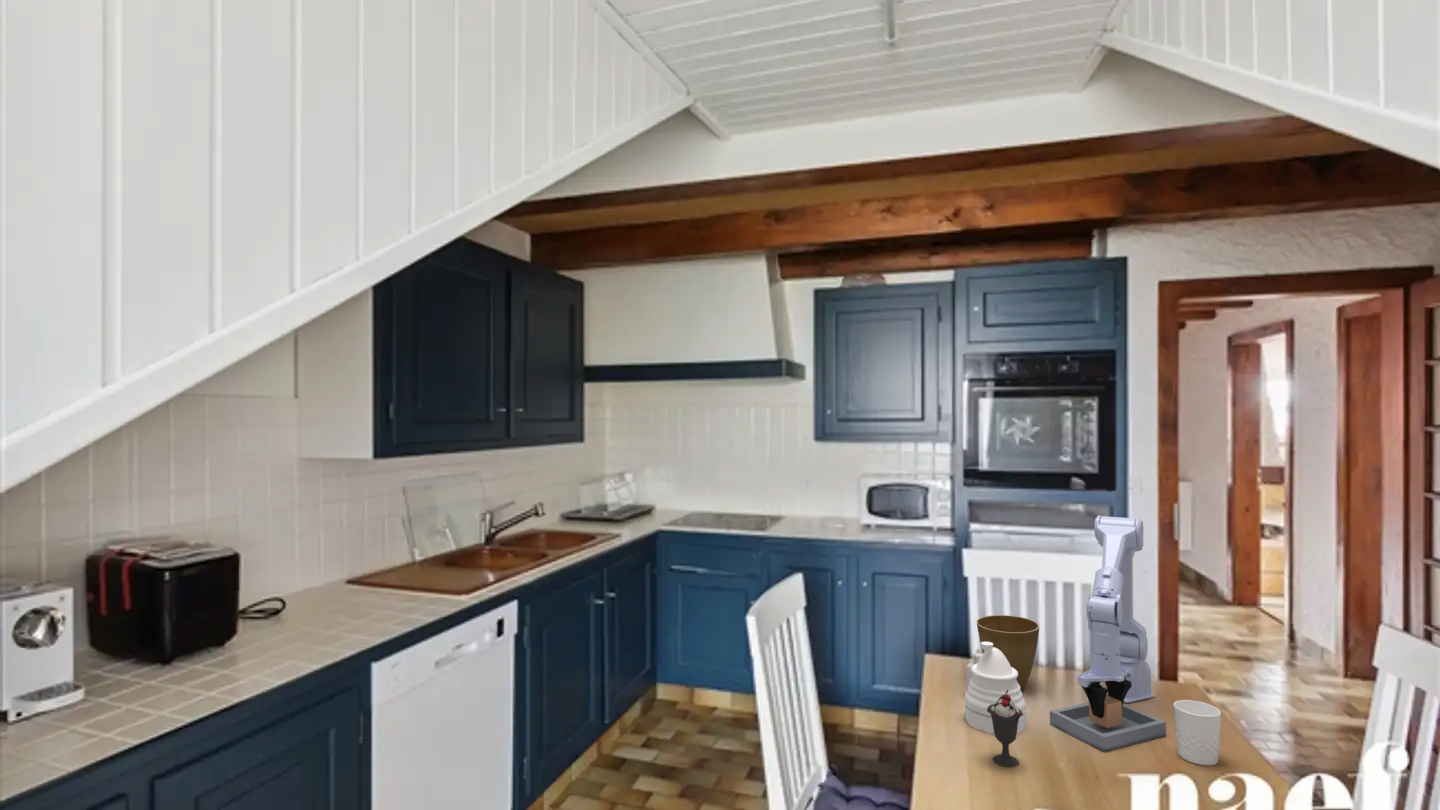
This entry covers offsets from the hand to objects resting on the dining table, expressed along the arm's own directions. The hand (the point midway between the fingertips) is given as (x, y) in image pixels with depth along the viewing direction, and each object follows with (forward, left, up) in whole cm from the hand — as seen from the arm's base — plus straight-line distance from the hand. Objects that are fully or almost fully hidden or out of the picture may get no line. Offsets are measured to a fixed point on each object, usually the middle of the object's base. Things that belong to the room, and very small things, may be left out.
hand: (1106, 714), depth 156 cm
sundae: (+30, +2, -4) cm, 30 cm away
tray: (0, 0, -3) cm, 3 cm away
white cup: (-6, +16, -4) cm, 17 cm away
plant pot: (+1, -28, -4) cm, 28 cm away
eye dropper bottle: (+13, -25, -4) cm, 28 cm away
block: (0, 0, -2) cm, 2 cm away
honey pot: (+19, -13, -4) cm, 23 cm away
